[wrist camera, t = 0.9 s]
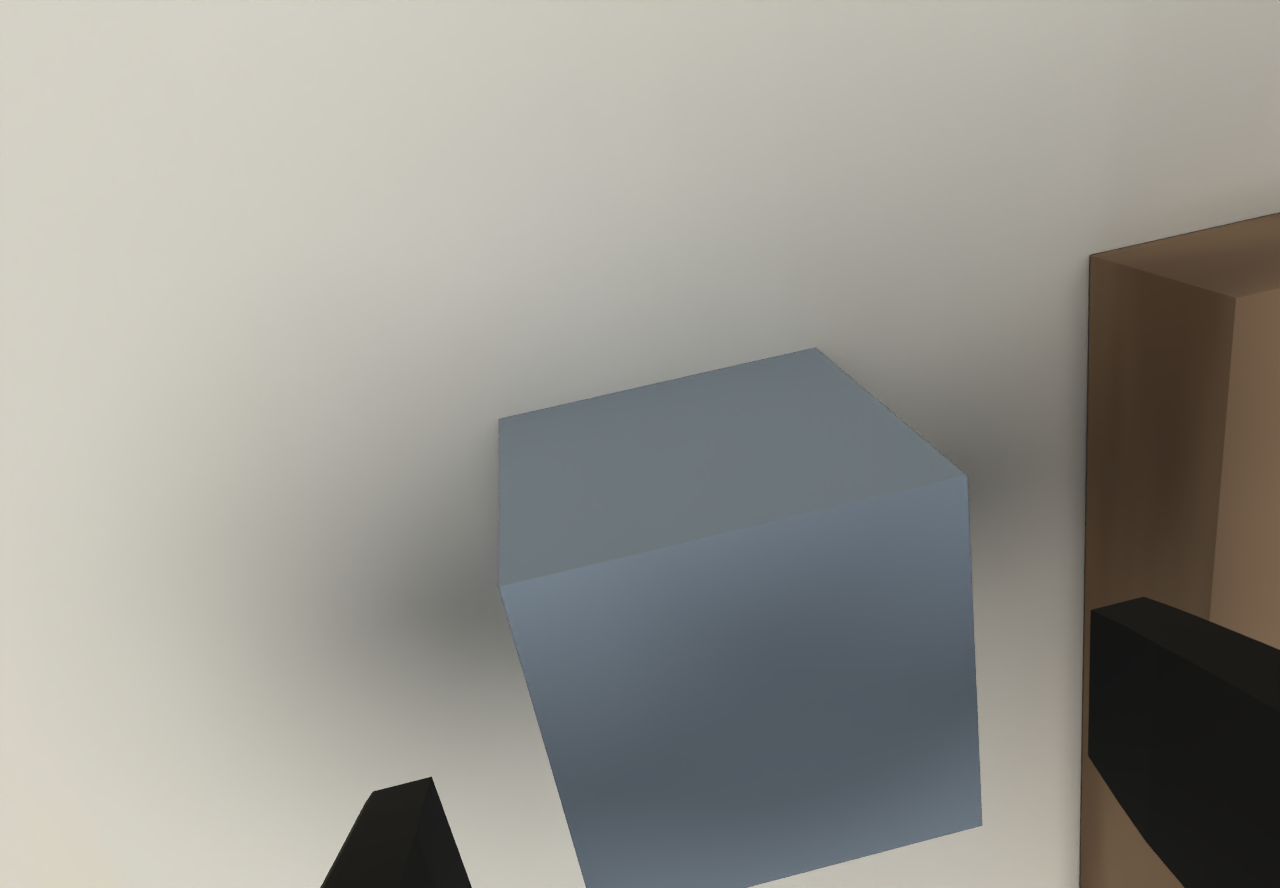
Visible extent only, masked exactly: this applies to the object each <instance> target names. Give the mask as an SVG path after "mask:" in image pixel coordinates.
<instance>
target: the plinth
mask: <svg viewBox="0 0 1280 888" xmlns="http://www.w3.org/2000/svg"><path fill="white" fill-rule="evenodd" d="M1140 597H1147V598H1149V599H1152V600H1155V601H1158V602H1161V603H1164V604H1167V605H1169V606H1172V607H1175V608H1177V609H1180V610H1183V611H1185V612H1188V613H1190V614H1193V615H1195V616H1198V617H1200V618H1203V619H1205V620H1208V621H1210V622H1213V623H1215V624H1218V625H1220V626H1223V627H1225V628H1228V629H1230V630H1233V631H1235V632H1238V633H1240V634H1242V635H1245V636H1247V637H1250V638H1252V639H1255V640H1257V641H1260V642H1262V643H1264V644H1267V645H1269V646H1272V647H1274V648H1277V649H1279V650H1280V213H1278V214H1273V215H1269V216H1264V217H1260V218H1255V219H1251V220H1246V221H1242V222H1237V223H1233V224H1228V225H1224V226H1220V227H1215V228H1211V229H1206V230H1202V231H1197V232H1193V233H1188V234H1184V235H1179V236H1175V237H1170V238H1166V239H1161V240H1157V241H1152V242H1148V243H1144V244H1139V245H1135V246H1130V247H1126V248H1121V249H1117V250H1112V251H1108V252H1103V253H1099V254H1094V255H1091V260H1090V321H1089V382H1088V443H1087V504H1086V565H1085V626H1084V686H1083V747H1082V808H1081V869H1080V888H1184V886H1183V885H1182V884H1181V883H1180V882H1179V881H1178V879H1177V878H1176V877H1175V876H1174V875H1173V874H1172V872H1171V871H1170V870H1169V869H1168V868H1167V867H1166V865H1165V864H1164V863H1163V862H1162V861H1161V859H1160V858H1159V857H1158V856H1157V855H1156V853H1155V852H1154V851H1153V850H1152V849H1151V847H1150V846H1149V845H1148V844H1147V843H1146V841H1145V840H1144V838H1143V837H1142V836H1141V834H1140V833H1139V831H1138V830H1137V828H1136V827H1135V826H1134V824H1133V823H1132V821H1131V820H1130V818H1129V817H1128V816H1127V814H1126V813H1125V811H1124V810H1123V808H1122V807H1121V806H1120V804H1119V803H1118V801H1117V800H1116V798H1115V797H1114V795H1113V793H1112V792H1111V790H1110V789H1109V787H1108V786H1107V784H1106V783H1105V781H1104V780H1103V778H1102V777H1101V775H1100V774H1099V772H1098V770H1097V769H1096V767H1095V766H1094V764H1093V763H1092V761H1091V760H1090V758H1089V757H1088V721H1089V669H1090V616H1091V610H1092V609H1096V608H1100V607H1104V606H1108V605H1112V604H1116V603H1120V602H1124V601H1128V600H1132V599H1136V598H1140Z"/></svg>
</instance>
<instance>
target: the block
mask: <svg viewBox="0 0 1280 888" xmlns="http://www.w3.org/2000/svg"><path fill="white" fill-rule="evenodd" d="M499 590H500V594H501V597H502V600H503V604H504V607H505V611H506V614H507V618H508V621H509V624H510V628H511V631H512V635H513V638H514V642H515V645H516V648H517V652H518V655H519V659H520V662H521V666H522V669H523V673H524V676H525V679H526V683H527V686H528V690H529V693H530V697H531V700H532V703H533V707H534V710H535V714H536V717H537V721H538V724H539V727H540V731H541V734H542V738H543V741H544V745H545V748H546V752H547V755H548V758H549V762H550V765H551V769H552V772H553V776H554V779H555V782H556V786H557V789H558V793H559V796H560V800H561V803H562V806H563V810H564V813H565V817H566V820H567V824H568V827H569V831H570V834H571V837H572V841H573V844H574V848H575V851H576V855H577V858H578V861H579V865H580V868H581V872H582V875H583V879H584V882H585V886H586V888H747V887H751V886H754V885H758V884H762V883H766V882H770V881H773V880H777V879H781V878H785V877H789V876H792V875H796V874H800V873H804V872H808V871H811V870H815V869H819V868H823V867H827V866H830V865H834V864H838V863H842V862H846V861H849V860H853V859H857V858H861V857H864V856H868V855H872V854H876V853H880V852H883V851H887V850H891V849H895V848H899V847H902V846H906V845H910V844H914V843H918V842H921V841H925V840H929V839H933V838H937V837H940V836H944V835H948V834H952V833H956V832H959V831H963V830H967V829H971V828H975V827H978V826H982V808H981V784H980V761H979V737H978V714H977V691H976V667H975V644H974V620H973V597H972V573H971V550H970V527H969V503H968V480H967V475H966V474H965V473H964V472H962V471H961V470H960V469H959V468H958V467H956V466H955V465H954V464H953V463H952V462H951V461H949V460H948V459H947V458H946V457H945V456H943V455H942V454H941V453H940V452H939V451H937V450H936V449H935V448H934V447H933V446H932V445H930V444H929V443H928V442H927V441H926V440H924V439H923V438H922V437H921V436H920V435H919V434H917V433H916V432H915V431H914V430H913V429H911V428H910V427H909V426H908V425H907V424H905V423H904V422H903V421H902V420H901V419H900V418H898V417H897V416H896V415H895V414H894V413H892V412H891V411H890V410H889V409H888V408H886V407H885V406H884V405H883V404H882V403H881V402H879V401H878V400H877V399H876V398H875V397H873V396H872V395H871V394H870V393H869V392H868V391H866V390H865V389H864V388H863V387H862V386H860V385H859V384H858V383H857V382H856V381H854V380H853V379H852V378H851V377H850V376H849V375H847V374H846V373H845V372H844V371H843V370H841V369H840V368H839V367H838V366H837V365H835V364H834V363H833V362H832V361H831V360H830V359H828V358H827V357H826V356H825V355H824V354H822V353H821V352H820V351H819V350H818V349H817V348H811V349H806V350H802V351H798V352H793V353H789V354H784V355H780V356H776V357H771V358H767V359H762V360H758V361H753V362H749V363H745V364H740V365H736V366H731V367H727V368H722V369H718V370H714V371H709V372H705V373H700V374H696V375H691V376H687V377H683V378H678V379H674V380H669V381H665V382H660V383H656V384H652V385H647V386H643V387H638V388H634V389H630V390H625V391H621V392H616V393H612V394H607V395H603V396H599V397H594V398H590V399H585V400H581V401H576V402H572V403H568V404H563V405H559V406H554V407H550V408H545V409H541V410H537V411H532V412H528V413H523V414H519V415H514V416H510V417H506V418H501V419H499Z"/></svg>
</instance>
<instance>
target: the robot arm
mask: <svg viewBox="0 0 1280 888" xmlns="http://www.w3.org/2000/svg"><path fill="white" fill-rule="evenodd" d="M1088 757H1089V758H1090V760H1091V761H1092V763H1093V764H1094V766H1095V767H1096V769H1097V770H1098V772H1099V774H1100V775H1101V777H1102V778H1103V780H1104V781H1105V783H1106V784H1107V786H1108V787H1109V789H1110V790H1111V792H1112V793H1113V795H1114V797H1115V798H1116V800H1117V801H1118V803H1119V804H1120V806H1121V807H1122V808H1123V810H1124V811H1125V813H1126V814H1127V816H1128V817H1129V818H1130V820H1131V821H1132V823H1133V824H1134V826H1135V827H1136V828H1137V830H1138V831H1139V833H1140V834H1141V836H1142V837H1143V838H1144V840H1145V841H1146V843H1147V844H1148V845H1149V846H1150V847H1151V849H1152V850H1153V851H1154V852H1155V853H1156V855H1157V856H1158V857H1159V858H1160V859H1161V861H1162V862H1163V863H1164V864H1165V865H1166V867H1167V868H1168V869H1169V870H1170V871H1171V872H1172V874H1173V875H1174V876H1175V877H1176V878H1177V879H1178V881H1179V882H1180V883H1181V884H1182V885H1183V886H1184V888H1280V650H1279V649H1277V648H1274V647H1272V646H1269V645H1267V644H1264V643H1262V642H1260V641H1257V640H1255V639H1252V638H1250V637H1247V636H1245V635H1242V634H1240V633H1238V632H1235V631H1233V630H1230V629H1228V628H1225V627H1223V626H1220V625H1218V624H1215V623H1213V622H1210V621H1208V620H1205V619H1203V618H1200V617H1198V616H1195V615H1193V614H1190V613H1188V612H1185V611H1183V610H1180V609H1177V608H1175V607H1172V606H1169V605H1167V604H1164V603H1161V602H1158V601H1155V600H1152V599H1149V598H1147V597H1140V598H1136V599H1132V600H1128V601H1124V602H1120V603H1116V604H1112V605H1108V606H1104V607H1100V608H1096V609H1092V610H1091V616H1090V669H1089V721H1088ZM320 888H472V887H471V884H470V881H469V879H468V876H467V873H466V870H465V868H464V865H463V862H462V859H461V857H460V854H459V851H458V848H457V846H456V843H455V840H454V837H453V834H452V832H451V829H450V826H449V823H448V821H447V818H446V815H445V812H444V810H443V807H442V804H441V801H440V799H439V796H438V793H437V790H436V788H435V785H434V782H433V779H432V777H429V778H425V779H421V780H417V781H413V782H409V783H405V784H401V785H397V786H393V787H389V788H385V789H381V790H378V791H374V792H372V794H371V795H370V797H369V798H368V800H367V801H366V803H365V805H364V806H363V808H362V810H361V812H360V814H359V816H358V818H357V820H356V821H355V823H354V825H353V827H352V829H351V831H350V833H349V835H348V837H347V839H346V840H345V842H344V844H343V846H342V848H341V850H340V852H339V854H338V856H337V858H336V859H335V861H334V863H333V865H332V867H331V869H330V871H329V873H328V874H327V876H326V878H325V880H324V882H323V884H322V886H321V887H320Z"/></svg>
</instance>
